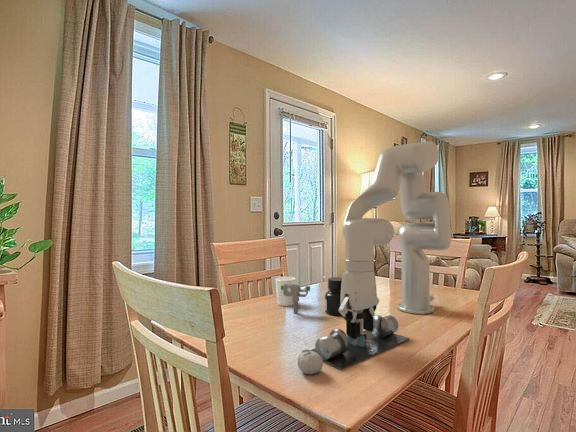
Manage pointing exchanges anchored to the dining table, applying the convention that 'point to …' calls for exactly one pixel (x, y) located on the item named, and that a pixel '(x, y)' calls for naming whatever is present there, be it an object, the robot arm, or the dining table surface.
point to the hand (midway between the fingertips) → (360, 332)
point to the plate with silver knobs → (345, 355)
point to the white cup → (281, 298)
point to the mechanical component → (294, 293)
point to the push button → (359, 330)
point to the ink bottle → (333, 296)
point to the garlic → (309, 362)
